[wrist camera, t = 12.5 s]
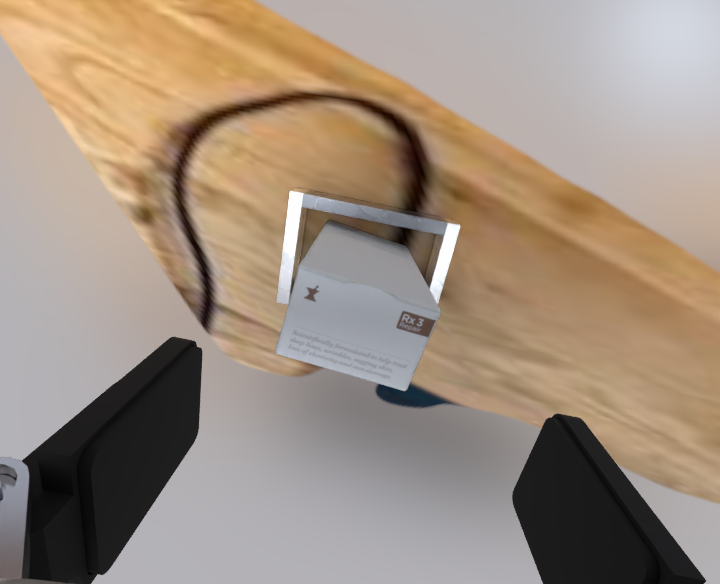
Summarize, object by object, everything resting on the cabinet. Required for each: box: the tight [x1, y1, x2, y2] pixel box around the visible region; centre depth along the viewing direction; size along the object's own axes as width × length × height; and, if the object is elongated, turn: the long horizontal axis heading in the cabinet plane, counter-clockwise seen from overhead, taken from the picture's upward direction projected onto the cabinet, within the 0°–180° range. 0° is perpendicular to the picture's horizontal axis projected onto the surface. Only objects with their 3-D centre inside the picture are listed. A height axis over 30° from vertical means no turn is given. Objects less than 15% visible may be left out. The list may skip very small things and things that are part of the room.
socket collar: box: [277, 188, 461, 305], centre depth 25 cm, size 11×7×2 cm
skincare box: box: [275, 220, 441, 391], centre depth 20 cm, size 6×4×12 cm
